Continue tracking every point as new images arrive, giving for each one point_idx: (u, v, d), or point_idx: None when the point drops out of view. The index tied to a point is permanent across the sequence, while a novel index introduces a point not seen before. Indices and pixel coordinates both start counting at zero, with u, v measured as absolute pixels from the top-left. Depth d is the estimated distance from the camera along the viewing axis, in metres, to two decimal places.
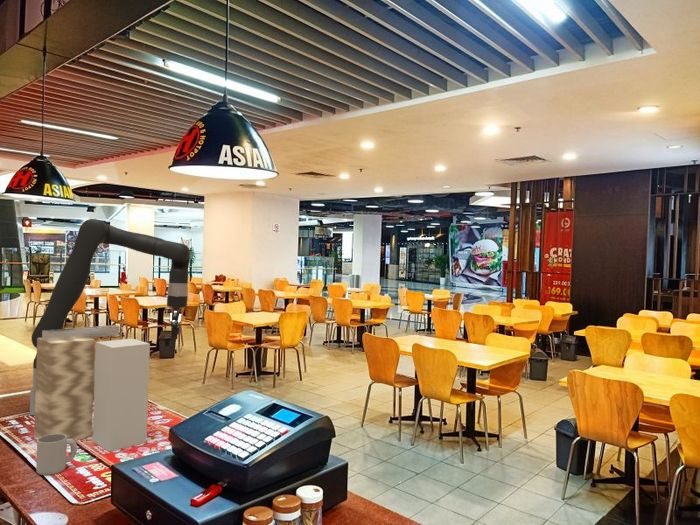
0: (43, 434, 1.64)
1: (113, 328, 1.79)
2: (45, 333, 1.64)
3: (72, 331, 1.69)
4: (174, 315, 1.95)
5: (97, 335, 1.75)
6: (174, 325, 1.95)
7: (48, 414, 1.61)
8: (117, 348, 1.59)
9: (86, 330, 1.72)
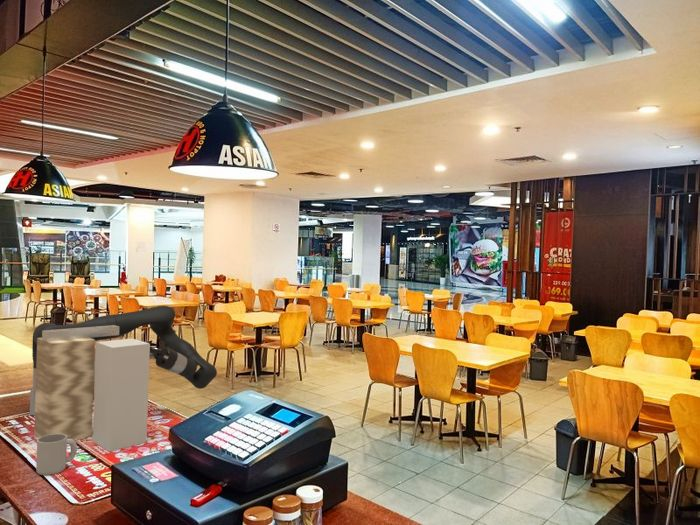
0: (43, 434, 1.64)
1: (113, 328, 1.79)
2: (45, 333, 1.64)
3: (72, 331, 1.69)
4: (165, 356, 1.88)
5: (97, 335, 1.75)
6: (156, 352, 1.86)
7: (48, 414, 1.61)
8: (117, 348, 1.59)
9: (86, 330, 1.72)
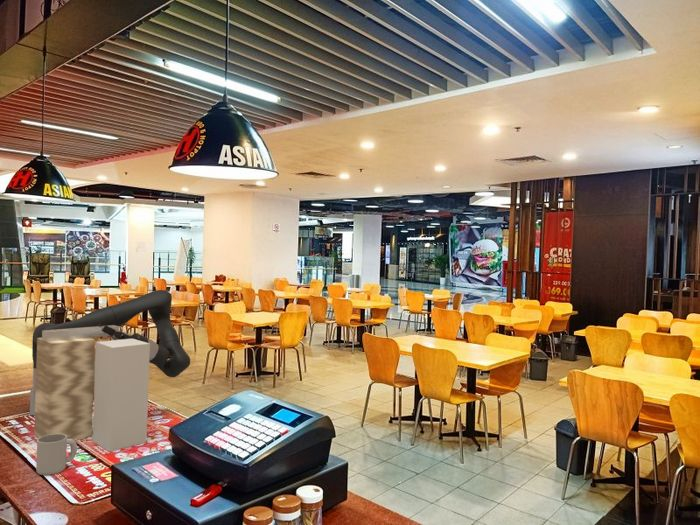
0: (43, 434, 1.64)
1: (113, 328, 1.79)
2: (45, 333, 1.64)
3: (72, 331, 1.69)
4: None
5: (97, 335, 1.75)
6: (119, 335, 1.78)
7: (48, 414, 1.61)
8: (117, 348, 1.59)
9: (86, 330, 1.72)
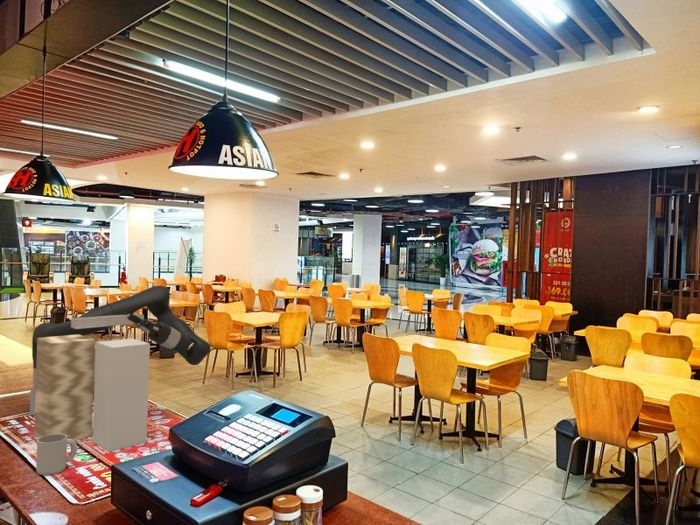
0: (43, 434, 1.64)
1: (138, 316, 1.84)
2: (74, 321, 1.69)
3: (100, 319, 1.74)
4: (154, 327, 1.84)
5: (123, 323, 1.80)
6: (144, 323, 1.83)
7: (48, 414, 1.61)
8: (117, 348, 1.59)
9: (113, 318, 1.77)
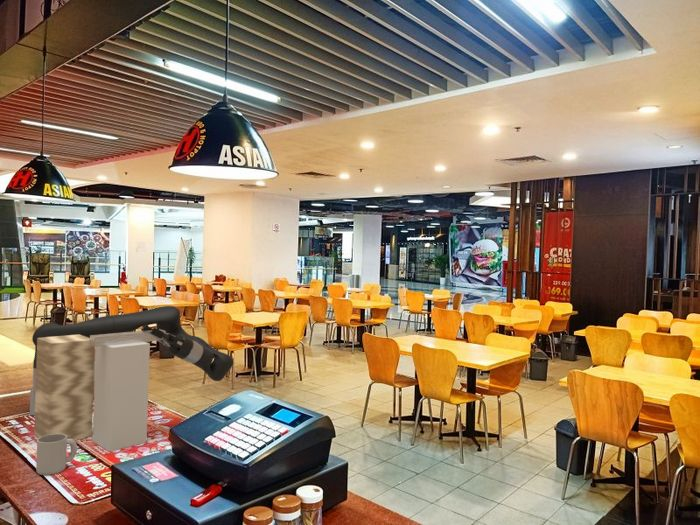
0: (43, 434, 1.64)
1: None
2: (93, 338, 1.59)
3: (120, 336, 1.64)
4: (178, 342, 1.74)
5: (144, 340, 1.70)
6: (168, 337, 1.72)
7: (48, 414, 1.61)
8: (117, 348, 1.59)
9: (133, 335, 1.67)
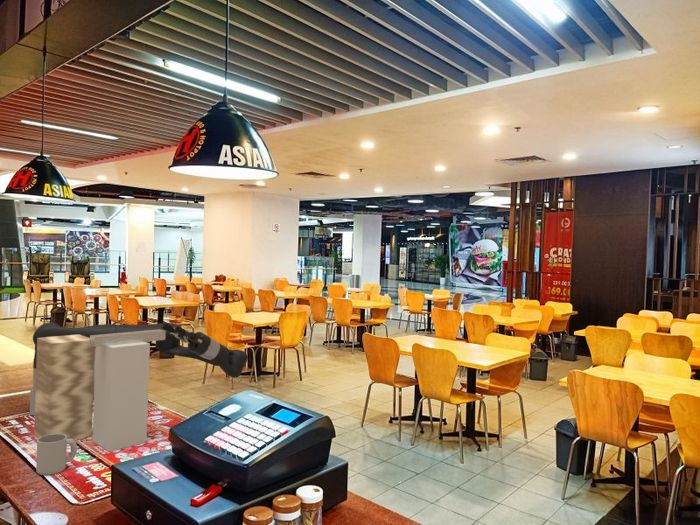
0: (43, 434, 1.64)
1: (159, 332, 1.74)
2: (93, 338, 1.59)
3: (120, 336, 1.64)
4: (199, 340, 1.80)
5: (144, 340, 1.70)
6: (191, 335, 1.78)
7: (48, 414, 1.61)
8: (117, 348, 1.59)
9: (133, 335, 1.67)
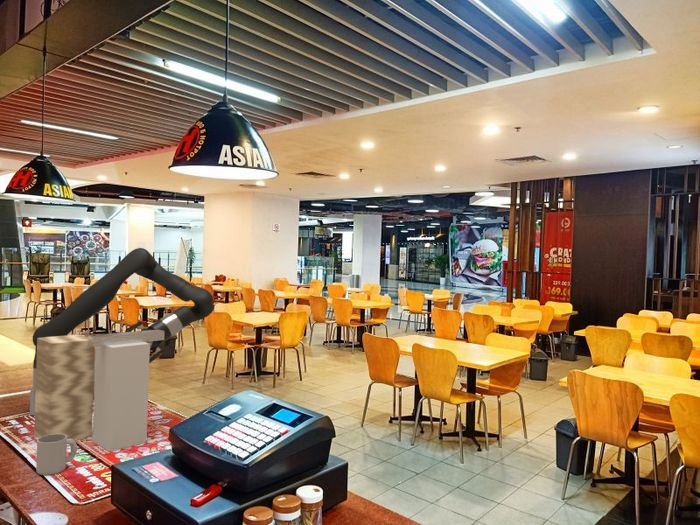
0: (43, 434, 1.64)
1: (158, 333, 1.73)
2: (91, 338, 1.59)
3: (118, 336, 1.63)
4: (159, 355, 1.82)
5: (142, 340, 1.69)
6: (150, 362, 1.79)
7: (48, 414, 1.61)
8: (117, 348, 1.59)
9: (132, 335, 1.67)
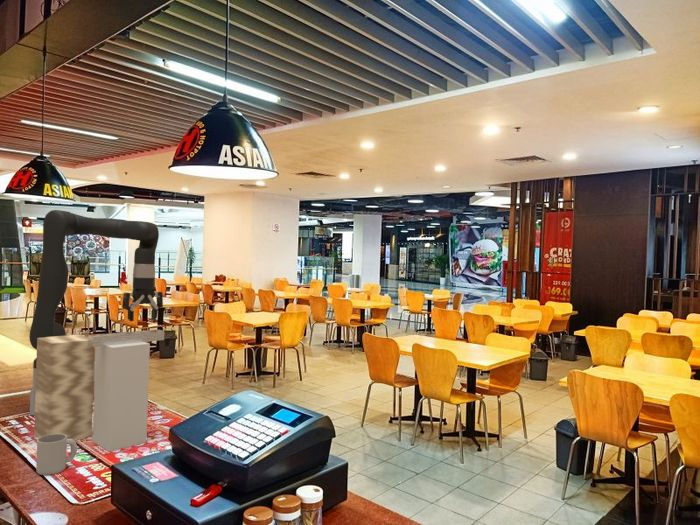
0: (43, 434, 1.64)
1: (158, 333, 1.73)
2: (91, 338, 1.59)
3: (118, 336, 1.63)
4: None
5: (142, 340, 1.69)
6: None
7: (48, 414, 1.61)
8: (117, 348, 1.59)
9: (132, 335, 1.67)
